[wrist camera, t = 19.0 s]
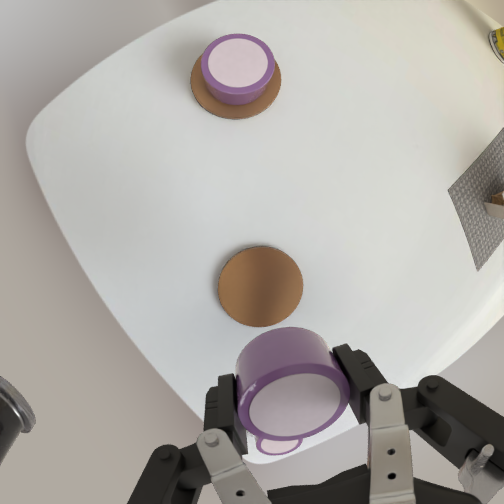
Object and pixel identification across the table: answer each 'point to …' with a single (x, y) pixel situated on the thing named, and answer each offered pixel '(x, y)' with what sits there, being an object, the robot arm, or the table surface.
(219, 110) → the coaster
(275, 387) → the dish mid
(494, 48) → the supplement bottle
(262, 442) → the purple rimmed puck
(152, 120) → the table surface
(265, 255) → the brown wooden coaster
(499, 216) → the architectural model
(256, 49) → the purple short cylinder
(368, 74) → the table surface
